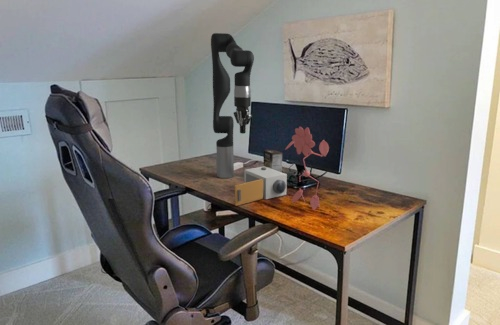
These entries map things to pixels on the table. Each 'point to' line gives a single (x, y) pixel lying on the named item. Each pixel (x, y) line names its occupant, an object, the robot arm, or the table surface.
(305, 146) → the pink flower figure
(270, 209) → the table surface
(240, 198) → the side door
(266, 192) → the camera body
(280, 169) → the coffee box
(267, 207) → the table surface
